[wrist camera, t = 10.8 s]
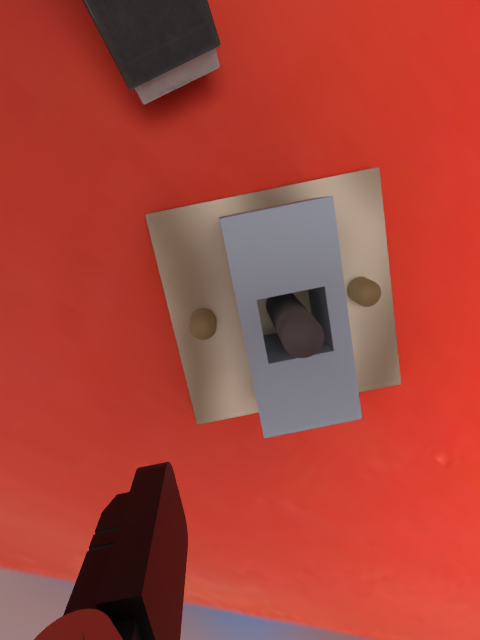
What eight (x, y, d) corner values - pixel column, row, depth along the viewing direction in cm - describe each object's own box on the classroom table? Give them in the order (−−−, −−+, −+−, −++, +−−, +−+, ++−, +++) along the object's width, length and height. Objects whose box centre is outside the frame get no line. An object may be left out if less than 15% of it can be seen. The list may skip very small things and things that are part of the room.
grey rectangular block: (219, 216, 25) (219, 218, 20) (310, 198, 25) (332, 195, 20) (256, 398, 28) (264, 438, 23) (337, 382, 28) (361, 418, 23)
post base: (198, 414, 30) (189, 492, 21) (149, 214, 26) (116, 216, 18) (392, 375, 30) (458, 439, 21) (370, 169, 26) (440, 150, 18)
